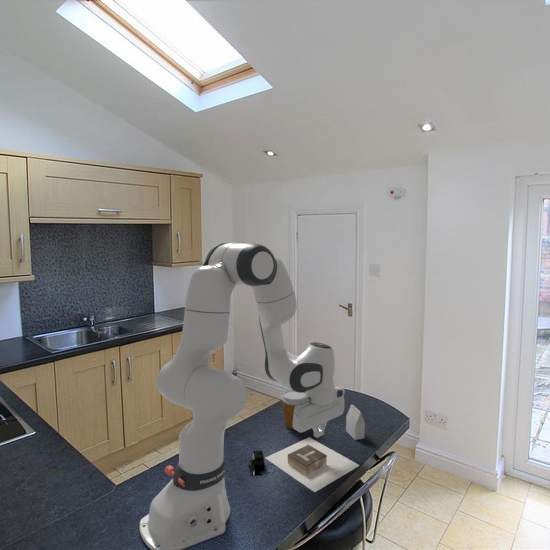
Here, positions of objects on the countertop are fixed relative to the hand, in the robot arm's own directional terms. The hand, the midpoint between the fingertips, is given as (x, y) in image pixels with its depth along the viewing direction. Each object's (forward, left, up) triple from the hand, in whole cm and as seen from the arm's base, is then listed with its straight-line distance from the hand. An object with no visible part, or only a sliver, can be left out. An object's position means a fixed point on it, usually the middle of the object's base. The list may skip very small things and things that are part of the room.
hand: (318, 435), depth 128 cm
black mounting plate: (-17, +9, -8) cm, 21 cm away
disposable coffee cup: (+9, +21, -8) cm, 24 cm away
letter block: (0, 0, -6) cm, 6 cm away
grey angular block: (+21, +2, -8) cm, 23 cm away
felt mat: (-3, 0, -8) cm, 8 cm away
